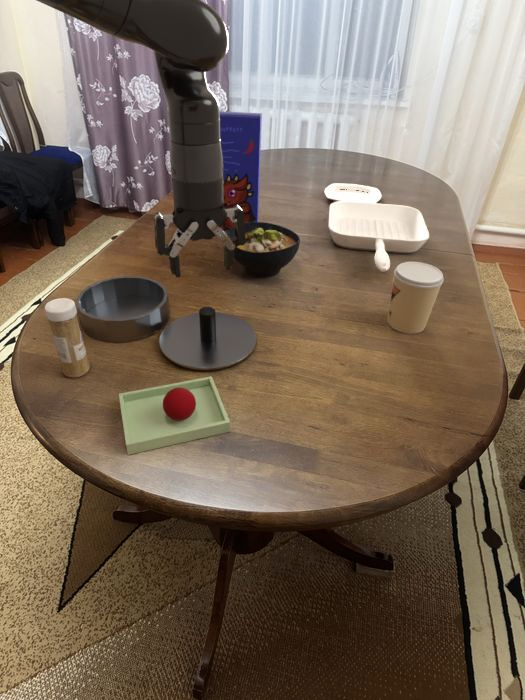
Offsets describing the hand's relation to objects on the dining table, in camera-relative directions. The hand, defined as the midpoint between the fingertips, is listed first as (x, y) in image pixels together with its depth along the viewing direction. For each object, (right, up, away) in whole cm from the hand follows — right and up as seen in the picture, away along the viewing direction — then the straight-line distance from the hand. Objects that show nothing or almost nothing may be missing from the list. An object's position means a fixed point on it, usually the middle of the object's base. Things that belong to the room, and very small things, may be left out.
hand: (202, 271), depth 78 cm
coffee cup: (+40, -8, +19) cm, 45 cm away
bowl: (+10, +7, +37) cm, 39 cm away
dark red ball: (-3, -21, -7) cm, 23 cm away
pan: (+41, +15, +50) cm, 67 cm away
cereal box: (-2, +23, +58) cm, 62 cm away
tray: (-4, -24, -5) cm, 24 cm away
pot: (-18, -6, +17) cm, 26 cm away
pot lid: (0, -11, +11) cm, 16 cm away
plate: (+41, +39, +82) cm, 99 cm away
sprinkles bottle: (-22, -17, +4) cm, 28 cm away
